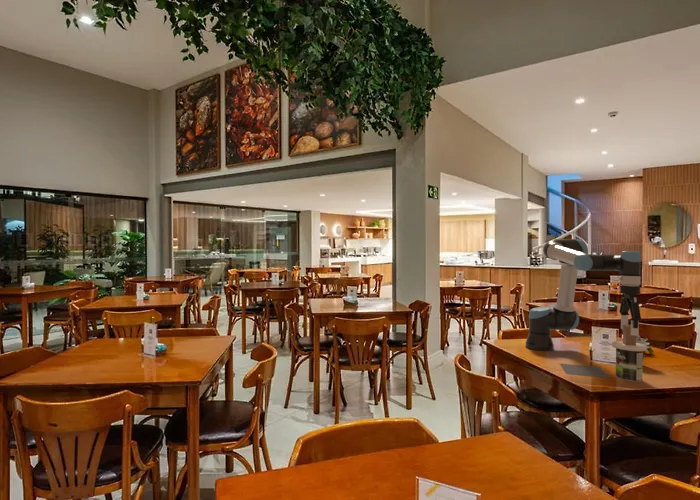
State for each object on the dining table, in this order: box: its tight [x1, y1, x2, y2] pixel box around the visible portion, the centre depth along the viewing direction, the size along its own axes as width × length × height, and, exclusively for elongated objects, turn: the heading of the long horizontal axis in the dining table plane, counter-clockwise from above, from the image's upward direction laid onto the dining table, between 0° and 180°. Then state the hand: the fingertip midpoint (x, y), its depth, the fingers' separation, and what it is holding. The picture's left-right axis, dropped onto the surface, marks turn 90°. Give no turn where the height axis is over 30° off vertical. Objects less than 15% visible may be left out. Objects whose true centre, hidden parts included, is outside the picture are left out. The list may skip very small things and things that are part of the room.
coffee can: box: [615, 348, 644, 382], centre depth 186 cm, size 10×10×14 cm
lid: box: [611, 324, 648, 352], centre depth 186 cm, size 13×13×10 cm
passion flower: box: [636, 335, 654, 355], centre depth 233 cm, size 11×11×12 cm
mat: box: [559, 363, 611, 379], centre depth 197 cm, size 18×18×1 cm
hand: (629, 332), depth 186 cm, fingers open, 13 cm apart
